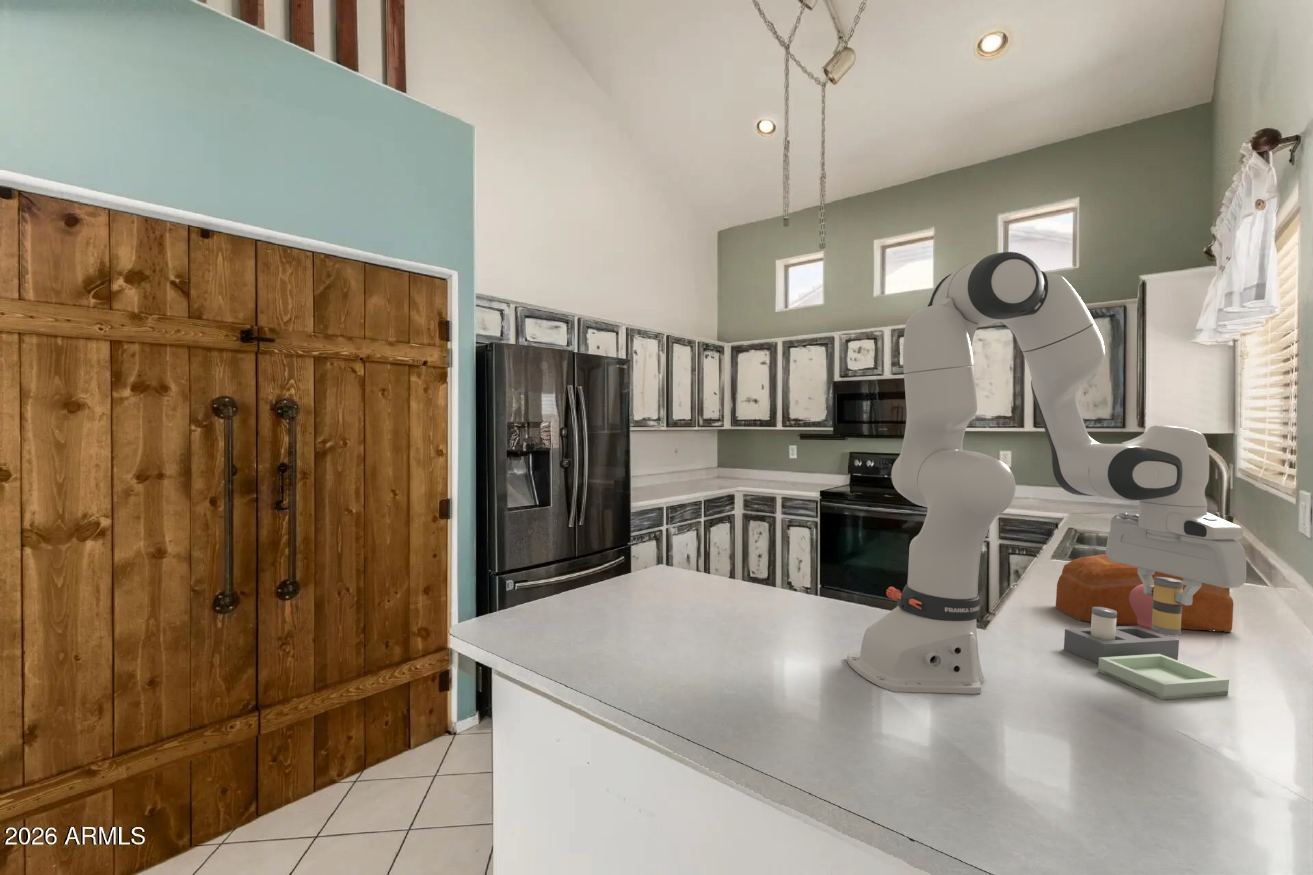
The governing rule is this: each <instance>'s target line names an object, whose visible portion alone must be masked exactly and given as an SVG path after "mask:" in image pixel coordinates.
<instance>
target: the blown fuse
mask: <svg viewBox="0 0 1313 875" xmlns="http://www.w3.org/2000/svg"><path fill="white" fill-rule="evenodd" d="M1182 591H1183V581H1180V580H1176V579H1172V578H1165V577H1154V590H1153V607H1152V608H1153V610H1152V630H1154V631H1156V632H1159V633H1160V634H1163V635H1167V636H1180V635H1181V633H1182V632H1181V630H1182V629H1181V615H1182V604H1179V603H1176V602H1175V599H1176V597H1175V594H1176V593H1181V592H1182Z"/></svg>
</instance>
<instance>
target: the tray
mask: <svg viewBox="0 0 1313 875" xmlns="http://www.w3.org/2000/svg"><path fill="white" fill-rule="evenodd" d="M1097 666H1098V667H1097V672H1099V673H1101V674H1104V675H1106V676H1108V677H1110V678H1112V679H1114V680H1117V681H1119V682H1122V683H1124V684H1126V685H1128V686H1131V687H1133V688H1135V689H1137V690H1140V691H1142V692H1144V693H1147V694H1149V695H1151V696H1153V697H1154V698H1158V699H1160V700H1162V701H1167V699H1168V700H1178V699H1187V698H1188V699H1189V698H1191V699H1192V698H1201V697H1212V696H1213V697H1214V696H1224V695H1229V686H1230V685H1229V684H1230V679H1229V678H1226V677H1223V676H1221V675H1217V674H1216V673H1215V674H1214V673H1213V672H1210V671H1207V670H1204V669H1201V668H1199V667H1196V666H1193V665H1190V664H1188V663H1185V662H1182V661H1180V660H1179V659H1178V660H1175V659H1172V658H1169V657H1167V656H1164V655H1161V654H1147V655H1131V656H1116V657H1100V658H1099V664H1098V663H1097Z"/></svg>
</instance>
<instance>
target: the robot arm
mask: <svg viewBox="0 0 1313 875" xmlns="http://www.w3.org/2000/svg"><path fill="white" fill-rule="evenodd" d="M998 323H1002V324H1004V325H1005V326H1006V327H1007V328H1008V329H1009V330H1010V331H1011V332H1012V334H1014V336H1015V339H1016V341H1017V344H1018V346H1019V349H1020V350H1021V351H1022V354H1023V357H1024V358H1025V361H1026V364H1027V366H1028V370H1029V373H1030V376H1031V377H1030V378H1031V382H1030V387H1031V388H1030V389H1031V393H1032V398H1033V400H1034V404H1035V406H1036V409H1037V413H1038V414H1039V418H1040V421H1041V423H1042V427H1043V429H1044V432H1045V434H1046V438H1047V441H1048V444H1049V446H1050V450H1051V461H1052V463H1051V466H1052V472H1053V473H1052V474H1053V476H1054V479H1055V480H1056V483H1058V485H1059V486H1060V487H1061V488H1062V489H1063V490H1064V491H1066V492H1068V493H1070V494H1072V495H1076V496H1085V497H1099V498H1107V499H1114V500H1120V501H1121V500H1122V501H1128V502H1129V501H1131V502H1135V501H1138V514H1131V513H1127V512H1119V513H1118V514H1115V515H1114V516H1113V517H1111V519H1110V529H1109V532H1108V536H1107V541H1106V546H1105V554H1106V555H1107V557H1108V559H1109V560H1111V561H1114V562H1118V563H1123V564H1127V565H1131V566H1135V567H1138V575H1139V577H1140V579H1141V581H1142V583H1143V584H1144V594H1147V595H1151V596H1153V590H1154V580H1153V578H1152V575H1154V574H1155V571H1156V572H1160V573H1164V574H1168V575H1172V576H1177V577H1181V578H1183V584H1184V585H1187V586H1186V587H1185V589H1184V590H1183V591H1182V592H1181V593H1176V594H1175V597H1176V599H1175V602H1176V603H1179V604H1182V605H1192V602H1193V595H1194V594H1195V593H1196V592H1197V591H1198V590H1199V589H1200V588H1201V586H1202V583H1206V584H1210V585H1214V586H1218V587H1222V588H1230V589H1236V588H1237V589H1238V588H1240V587H1242V585H1244V584H1245V583H1246V581H1247V556H1246V550H1245V548H1244V546H1243V545H1242V544H1241V543H1240V542H1239V541H1238V540H1240V539H1242V538H1243V537H1244V529H1243V528H1242V527H1241V526H1240V525H1238V524H1236V523H1233V522H1230V521H1228V520H1226V519H1223V518H1222V517H1218V515H1217V516H1216V515H1214V514H1213V513H1210V512H1208V501H1207V499H1206V493H1205V492H1206V491H1205V490H1206V488H1207V485H1208V483H1209V479H1210V451H1209V445H1208V441H1207V439H1206V437H1205V435H1204V434H1203V433H1201V432H1200V431H1198V430H1195V429H1192V428H1188V427H1184V426H1172V425H1154V426H1150V427H1148V428H1147V429H1146V431H1145V432H1143V433H1142V434H1140V435H1138V436H1137V437H1134V438H1132V439H1129V440H1126V441H1123V442H1121V443H1101V442H1098V441H1096V440H1095V439H1093V438H1092V437H1091V436H1090V435H1089V433H1088V431H1087V428H1086V425H1085V422H1084V419H1083V417H1082V414H1081V410H1080V407H1079V404H1078V402H1077V401H1078V400H1077V395H1078V394H1077V393H1078V390H1079V388H1080V387H1081V386H1082V385H1083V384H1085V383H1086V382H1088V381H1089V380H1091V378H1093V377H1094V375H1096V374H1097V372H1098V371H1099V370H1100V368H1101V367H1102V365H1103V362H1104V360H1105V357H1106V350H1105V345H1104V344H1105V343H1104V340H1103V337H1102V334H1101V333H1100V331H1099V328H1098V326H1097V325H1096V322H1095V320H1094V319H1093V317H1092V315H1091V313H1090V311H1089V310H1088V307H1087V306H1086V304H1085V303H1084V301H1083V300H1082V298H1081V296H1080V294H1078V293H1077V291H1076V290H1075V288H1074V287H1073V286H1072V284H1071V283H1069V281H1068V280H1067V279H1066V278H1065V277H1063V276H1062V275H1060V274H1057V273H1056V274H1055V273H1045V272H1044V271H1043V270H1041V269H1040V267H1039V266H1038V265H1037V263H1035V262H1034V260H1032V259H1031V258H1030V257H1028V256H1026V255H1024V254H1022V253H1020V252H1014V251H1003V252H997V253H993V254H990V255H987V256H985V257H984V258H981V259H979V260H976V261H972V262H970V263H969V262H968V263H966V264H965V265H963V266H961V267H959V268H958V269H957V270H955V271H954V272H952V273H950V274H948V275H946V276H945V277H944V278H943V279H942V280H941V281H939V283H938V284H936V286H935V288H934V290H933V292H932V293H931V297H930V300H929V303H928V304H927V306H926V307H923V308H921V309H919V310H916V311H915V312H914V313H912V314H911V315H910V316H909V317H908V319H907V321H906V323H905V327H904V332H903V333H904V335H903V348H902V368H903V379H904V391H905V406H906V409H905V410H906V419H905V420H906V421H905V430H904V436H903V440H902V446H901V451H900V454H899V456H898V457H897V459H895V461H894V463H893V465H892V468H891V474H890V476H891V477H890V479H891V483H892V485H893V487H894V489H895V490H896V491H897V492H898V493H899V494H900V495H901V496H903V498H906V499H907V500H908V501H910V502H911V503H912V504H915V505H917V506H920V507H921V506H922V507H925V508H927V512H926V515H925V518H924V521H923V525H922V527H921V529H920V531H919V533H918V534H917V535H916V536H914V537H913V538H912V540H910V543H909V548H908V566H907V568H908V570H907V583H906V584H904V585H905V586H904V587H903V589H902V591H901V590H900V589H897V588H895V587H894V586H889V587H888V588H887V589H886V591H885V594H886V596H887V597H888V598H889V599H892V600H893V601H896V602H897V604H896V605H897V606H896V607H895V608H893V609H891V611H889V612H888V613H886V614H885V615H884V616H882V617H881V618H880V619H878V620H877V621H876V622H874V623H873V624H871V625H870V626H869V627H867V628H866V629H865V631H864V634H863V639H862V642H861V646H860V650H859V651H858V650H857V651H852V652H851V651H850V652H849V653H848V654H847V660H846V661H847V663H848V665H849V666H850V667H851V668H852V669H853V671H855V672H856V673H857V674H859V675H860V676H861V677H863V678H864V679H866V680H868V681H869V682H871V683H873V684H874V685H877V686H879V687H881V688H883V689H886V690H888V691H892V692H898V693H899V692H900V693H901V692H902V693H904V692H905V693H934V694H935V693H937V694H938V693H942V694H944V693H946V694H951V693H952V694H980V693H982V683H983V682H984V679H985V677H984V675H983V674H984V673H983V671H982V666H981V661H980V654H979V645H978V644H979V643H978V632H977V619H978V618H979V617H980V609H981V608H980V607H981V606H980V605H981V604H980V602H981V601H980V600H981V598H980V595H979V594H978V585H979V572H980V561H981V559H980V558H981V552H982V549H983V545H984V541H985V539H986V537H987V534H988V532H989V530H990V527H991V525H992V523H993V522H994V521H995V519H996V518H997V517H998V516H999V515H1001V514H1003V513H1004V512H1005V511H1006V510H1007V509H1008V508H1009V507H1010V505H1012V502H1013V500H1014V499H1015V495H1016V489H1017V488H1016V486H1017V485H1016V480H1015V476H1014V473H1013V472H1012V470H1011V468H1010V467H1009V466H1008V465H1007V464H1006V463H1005V462H1004V461H1001V460H999V459H997V458H994V457H993V456H990V455H989V454H985V453H982V452H981V451H980V452H978V451H971V450H964V449H963V444H964V437H965V434H966V429H967V428H968V425H969V423H970V422H971V421H972V420H973V418H975V416H976V414H977V412H978V400H977V388H976V376H975V374H976V373H975V366H974V365H975V364H974V354H973V348H972V347H973V340H974V336H975V333H976V331H977V329H978V328H979V327H986V326H991V325H994V324H998Z"/></svg>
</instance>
